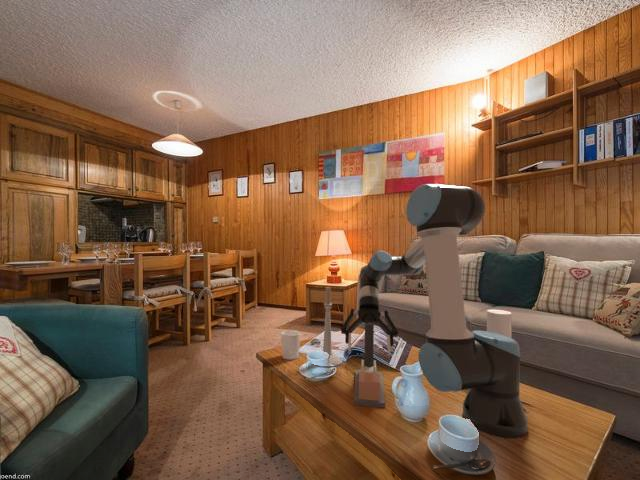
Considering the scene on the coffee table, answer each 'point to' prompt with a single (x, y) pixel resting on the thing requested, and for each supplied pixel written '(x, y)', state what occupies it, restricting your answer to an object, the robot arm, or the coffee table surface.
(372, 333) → the tube
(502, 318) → the cylindrical container
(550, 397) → the coffee table surface
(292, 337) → the white cup
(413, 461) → the coffee table surface
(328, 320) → the candlestick
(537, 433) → the coffee table surface
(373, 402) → the tube stand
